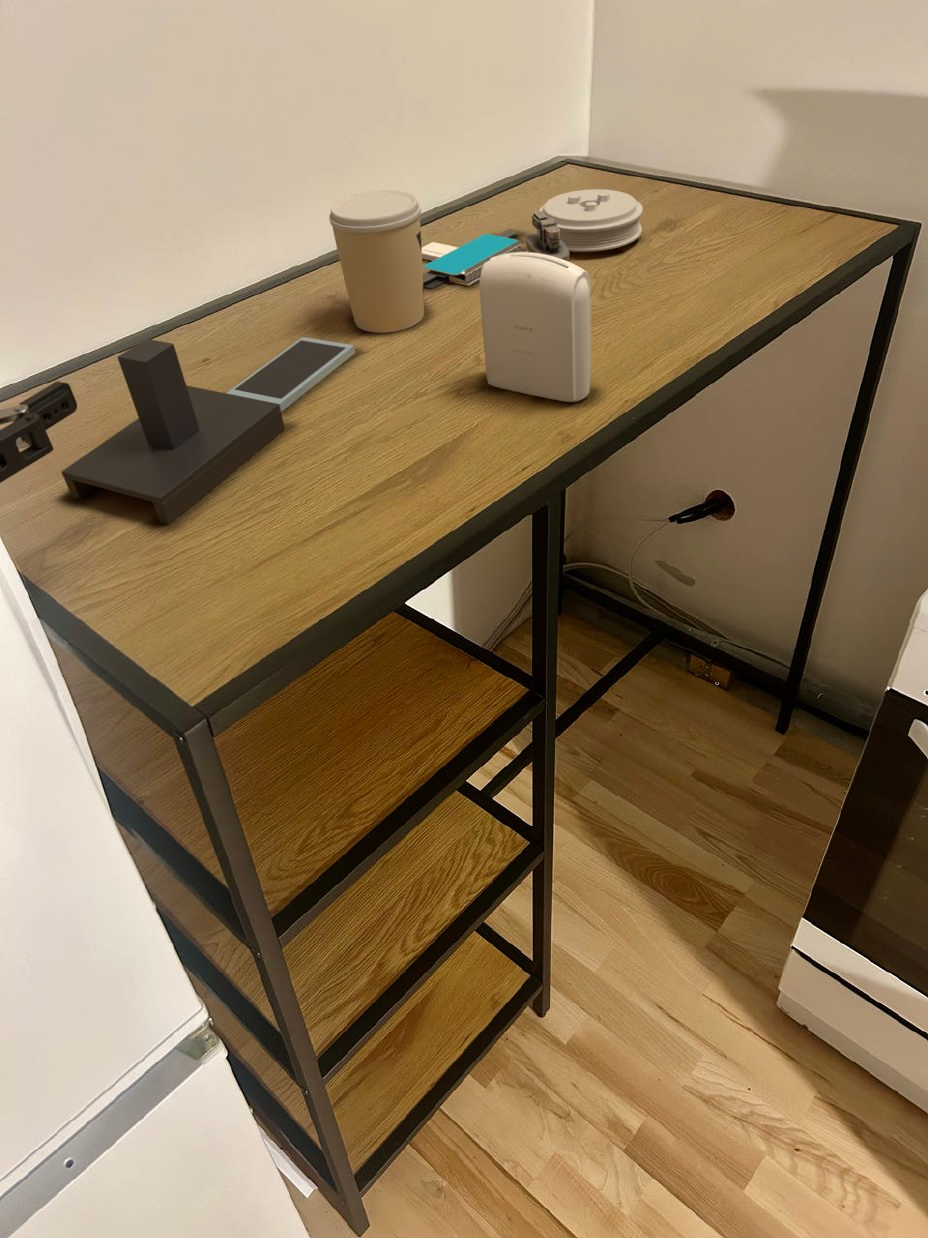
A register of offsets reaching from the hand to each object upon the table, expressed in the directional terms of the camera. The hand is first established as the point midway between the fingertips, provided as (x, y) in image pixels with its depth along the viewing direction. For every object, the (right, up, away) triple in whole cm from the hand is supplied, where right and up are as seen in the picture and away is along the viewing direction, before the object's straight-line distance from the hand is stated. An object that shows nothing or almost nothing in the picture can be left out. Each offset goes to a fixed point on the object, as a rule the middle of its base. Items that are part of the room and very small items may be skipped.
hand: (27, 384), depth 66 cm
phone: (+14, +8, +27) cm, 31 cm away
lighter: (+40, +16, +33) cm, 54 cm away
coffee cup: (+23, +16, +36) cm, 45 cm away
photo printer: (+38, +5, +21) cm, 44 cm away
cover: (+6, -3, +16) cm, 17 cm away
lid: (+47, +30, +48) cm, 73 cm away
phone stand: (+31, +27, +47) cm, 62 cm away
